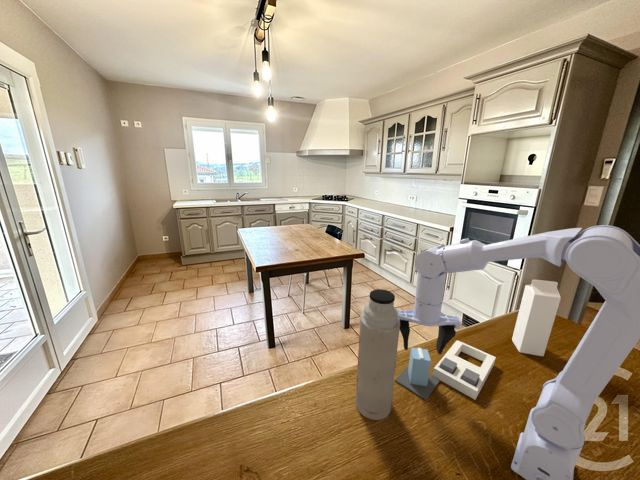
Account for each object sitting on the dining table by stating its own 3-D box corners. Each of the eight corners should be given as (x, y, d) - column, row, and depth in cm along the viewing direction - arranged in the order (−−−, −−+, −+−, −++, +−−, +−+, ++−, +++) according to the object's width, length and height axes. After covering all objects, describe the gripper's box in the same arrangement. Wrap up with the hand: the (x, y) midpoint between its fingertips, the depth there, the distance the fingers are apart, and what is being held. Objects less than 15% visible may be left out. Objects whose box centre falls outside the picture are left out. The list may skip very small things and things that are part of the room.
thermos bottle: (349, 409, 59) (355, 297, 51) (363, 384, 66) (369, 281, 58) (384, 427, 55) (396, 308, 47) (395, 398, 62) (407, 290, 54)
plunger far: (450, 380, 66) (452, 369, 66) (438, 373, 69) (440, 363, 68) (455, 373, 68) (457, 363, 68) (443, 367, 71) (445, 357, 70)
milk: (511, 340, 82) (527, 274, 76) (534, 343, 81) (552, 277, 75) (519, 352, 77) (537, 283, 71) (544, 357, 75) (564, 286, 69)
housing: (475, 400, 61) (477, 391, 61) (432, 376, 68) (434, 368, 68) (493, 364, 72) (495, 357, 71) (455, 347, 79) (456, 339, 78)
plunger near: (473, 392, 63) (475, 381, 62) (460, 385, 65) (462, 374, 64) (477, 385, 65) (479, 374, 64) (464, 378, 67) (466, 368, 66)
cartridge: (427, 386, 65) (431, 359, 62) (410, 383, 65) (413, 357, 63) (424, 373, 68) (427, 348, 66) (408, 371, 69) (411, 346, 67)
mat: (425, 400, 61) (425, 399, 61) (394, 380, 67) (395, 379, 67) (439, 381, 67) (439, 380, 66) (410, 364, 72) (410, 363, 72)
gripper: (457, 293, 62) (449, 342, 66) (394, 288, 65) (390, 335, 69) (467, 309, 56) (457, 362, 60) (396, 302, 58) (391, 353, 62)
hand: (421, 349), depth 64 cm, fingers open, 7 cm apart
